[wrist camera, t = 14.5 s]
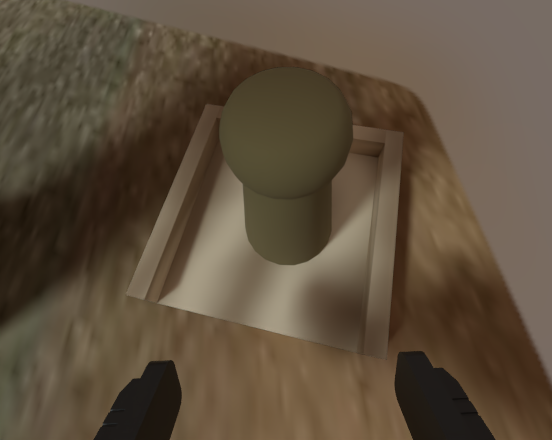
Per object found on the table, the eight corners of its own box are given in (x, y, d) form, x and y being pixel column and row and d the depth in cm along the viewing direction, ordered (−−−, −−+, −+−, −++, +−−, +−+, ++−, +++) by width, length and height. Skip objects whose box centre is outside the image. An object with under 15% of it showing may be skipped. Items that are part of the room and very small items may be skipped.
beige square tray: (145, 300, 19) (125, 294, 17) (214, 125, 24) (206, 103, 22) (373, 356, 17) (386, 359, 15) (392, 153, 22) (403, 132, 20)
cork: (228, 238, 19) (160, 129, 9) (272, 172, 21) (255, 22, 11) (306, 282, 18) (325, 209, 8) (346, 207, 20) (403, 71, 10)
